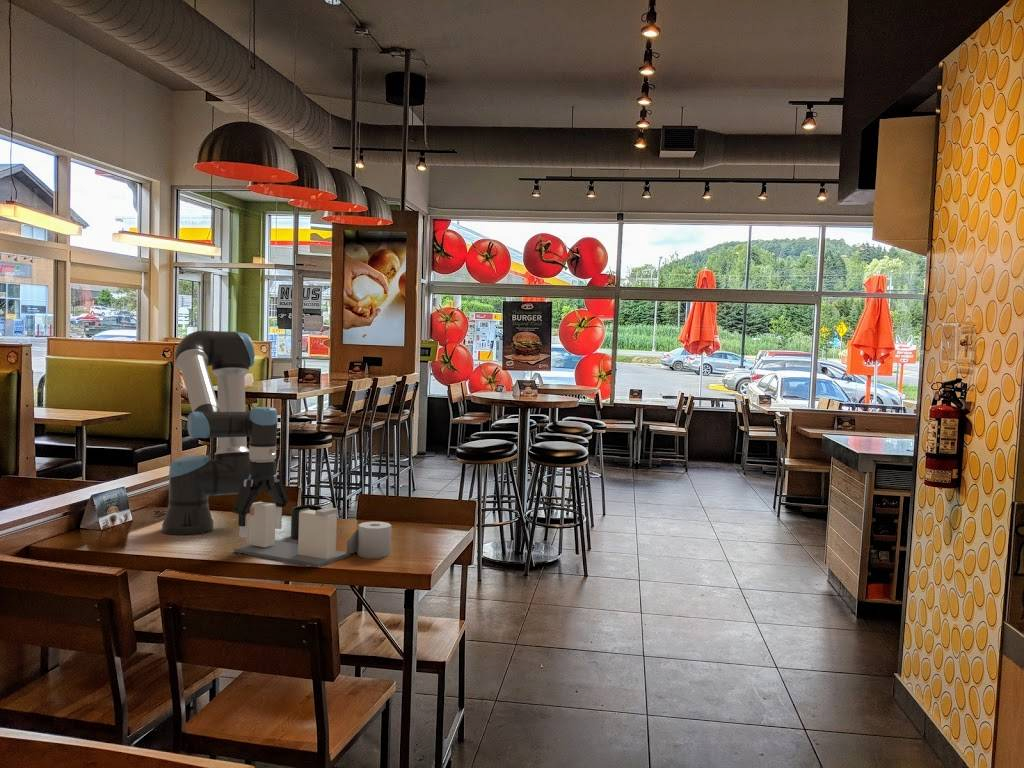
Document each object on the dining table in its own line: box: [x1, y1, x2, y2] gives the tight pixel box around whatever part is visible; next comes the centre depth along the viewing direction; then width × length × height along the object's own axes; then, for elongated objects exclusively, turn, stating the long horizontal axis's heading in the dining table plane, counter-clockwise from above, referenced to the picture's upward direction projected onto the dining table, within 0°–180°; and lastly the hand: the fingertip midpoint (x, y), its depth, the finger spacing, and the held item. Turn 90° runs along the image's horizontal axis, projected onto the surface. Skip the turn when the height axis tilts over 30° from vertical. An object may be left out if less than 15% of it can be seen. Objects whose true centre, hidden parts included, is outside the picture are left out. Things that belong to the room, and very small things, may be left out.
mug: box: [290, 505, 324, 541], centre depth 241 cm, size 9×12×9 cm
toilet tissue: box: [346, 521, 392, 559], centre depth 222 cm, size 9×13×9 cm
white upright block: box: [248, 501, 276, 547], centre depth 224 cm, size 6×4×12 cm
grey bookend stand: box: [233, 507, 351, 568], centre depth 219 cm, size 30×14×14 cm, turn 65°
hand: (260, 532), depth 224 cm, fingers open, 13 cm apart
